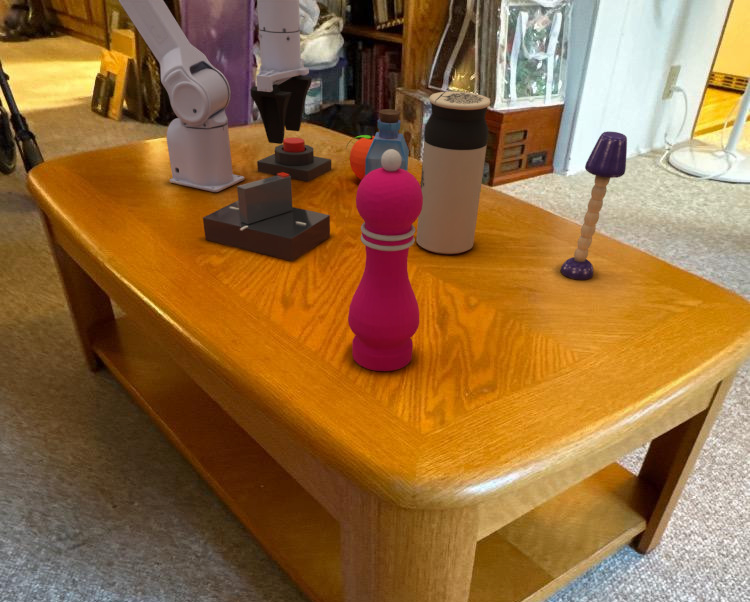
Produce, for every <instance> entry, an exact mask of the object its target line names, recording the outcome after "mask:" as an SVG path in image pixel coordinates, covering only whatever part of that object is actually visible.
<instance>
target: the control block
mask: <svg viewBox="0 0 750 602" xmlns="http://www.w3.org/2000/svg"><path fill="white" fill-rule="evenodd" d="M256 165H257V172H258V173H263V174H268V175H272V176H276V175H277V174H278V173H281V172H284V173H287V174H289V176H291V180H297V181H302V182H307V183H309V182H310V181H312V180H315V179H316V178H318V177H320V176H322V175H324V174H326V173H328V172H330V171H331V170H332V159H331V158H326V157H320V156H315V154H314V147H313V146H311V145H308V144H305V151H303V152H297V153H296V152H286V151H284V149H283V144H278V145H277V146H275V147H274V153H273V154H271V155H268V156H266V157H264V158H262V159H259V160H257V162H256Z"/></svg>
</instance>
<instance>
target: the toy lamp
mask: <svg viewBox="0 0 750 602" xmlns="http://www.w3.org/2000/svg"><path fill="white" fill-rule="evenodd" d="M627 152H628V137H627V136H626V135H625V134H624V133H621V132H618V131H604V132H601V134H600V136H599V137H598V139H597V141H596V143H595V145H594V147H593V149H592V150H591V152H590V154H589V156H588V158H587V160H586V162H585V166H584V168H585V171H586V172H587V173H589V174H591V175H593V176H594V185H593V187H592V188H591V192H590V196H591V197H590V199H589V200H588V203H587V210H586V212H585V214H584V217H583V224H582V225H581V228H580V235H579V237H578V239H577V243H576V244H577V247H576V248H575V250H574V253H573V256H572V257H570V258H568V259H566V260H565V261H564V262H563V263H562V264H561V267H560V273H561V274H562V275H563V276H565V277H567V278H570V279H573V280H578V281H579V280H581V281H582V280H589V279H591V278H592V277H593V276H594V266H593V264H592V262H591V261H590V260H588V259H587V258H588V256H589V249H590V247H591V246H592V242H593V236H594V235H595V233H596V229H597V228H596V227H597V226H596V225H597V223H598V222H599V219H600V212H601V210H602V208H603V205H604V200H603V199H605V197H606V194H607V187H608V185H609V183H610V180H611V179H613V178H614V179H615V178H621V177H623V176H624V175H625V173H626V168H627Z"/></svg>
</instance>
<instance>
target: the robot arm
mask: <svg viewBox="0 0 750 602" xmlns="http://www.w3.org/2000/svg"><path fill="white" fill-rule="evenodd" d="M118 2H119V4H120V5H121V7H122V8H123V10H124V11H125V14H126V15H127V16H128V17H129V19H130V21H131V22H132V23H133V25H134V26H135V28H136V29H137V31H138V32H139V35H141V37H142V39H143V40H144V42H145V43H146V45H147V46H148V48H149V49H150V51H151V53H152V54H153V56H154V57H155V59H156V60H157V62H158V63H159V67H160V82H161V84H162V86H163V87H164V89H165V91H166V92H167V95H168V99H169V102H170V106H171V109H172V111H173V113H174V115H176V117H177V118H174V119H172V120H171V121H170V123H169V125H168V127H167V132H166V145H167V150H168V151H167V152H168V158H169V162H170V163H169V164H170V168H171V169H170V170H171V176H172V177H171V178H169V183H171V184H175V185H179V186H184V187H189V188H193V189H198V190H203V191H207V192H212V193H219V192H221V191H223V190H226V189H227V188H230V187H232V186H234V185H236V184H238V183H240V182H243V181H245V176H243V175H238V174H234V172H233V162H232V153H231V142H230V132H229V122H228V121H229V119H228V116H227V114H226V109H227V107H228V105H229V104H230V100H231V95H232V93H231V87H230V86H231V85H230V83H229V81H228V79H227V77H226V76H225V75H224V74H223V73H222V72H221V71H220V70H219V69H218V68H216V67H215V66H214V65H213V64H211V62H210V60H208V57H207V55H205V54H204V53H203V52H202V51H201V50H200V49H198V48H197V47H196V46H194V44H192V43H190V41H189V39H188V38H187V36H186V34H185V33H184V31H183V29H182V27H181V26H180V25H179V23H178V21H177V20H176V19H175V17H174V15H173V14H172V12H171V10H170V9H169V7H168V5H167V4H166V2H165V1H164V0H118ZM256 3H257V17H258V18H257V19H258V35H259V52H260V54H259V55H260V66H259V71H258V73H257V74H256V75H255V78H256V85H254V86H253V87H251V88H250V90H249V91H250V97H251V99H252V100H253V102H254V103H255V105H256V107H257V110H258V112H259V115H260V118H261V120H262V124H263V128H264V131H265V134H266V139H267V142H268V144H269V143H270V144H278V145H283V140H284V139H285V130H286V131H291V132H300V130H301V126H302V120H303V113H304V107H305V103H306V98H307V95H308V92H309V90H310V86H312V83H313V82H312V80H313V79H312V77H311V76H308V74H309V73H310V69H309V67H306V66H305V59H304V58H302V57H301V56H302V55H301V25H300V23H301V22H300V20H301V19H300V0H256Z"/></svg>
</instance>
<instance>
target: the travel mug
mask: <svg viewBox="0 0 750 602" xmlns="http://www.w3.org/2000/svg"><path fill="white" fill-rule="evenodd" d="M429 102H430V105H431V114H430V116H429V118H428V120H427V122H426V123H425V126H424V138H423V150H422V163H421V164H422V165H421V174H420V175H421V177H420V186H421V190H422V194H423V205H422V210H421V213H420V215H419V216H418V218H417V227H416V241H415V242H416V243H417V244H418V246H420V247H421V248H423V249H424V250H426V251H428V252H432V253H434V254H440V255H458V254H461V253H465V252H467V251H469V250H471V249H472V248H473V247H474V242H475V235H476V227H477V220H478V214H479V213H478V212H479V207H480V198H481V190H482V184H483V176H484V168H485V161H486V154H487V145H488V140H489V139H488V138H489V131H490V130H489V127H488V124H487V121H486V115H487V111H488V108H489V106H490V105H491V99H490V98H489V97H487V96H485V95H482V94H478V93H474V92H467V91H440V92H435V93H432V94H431V95H430V96H429Z"/></svg>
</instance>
